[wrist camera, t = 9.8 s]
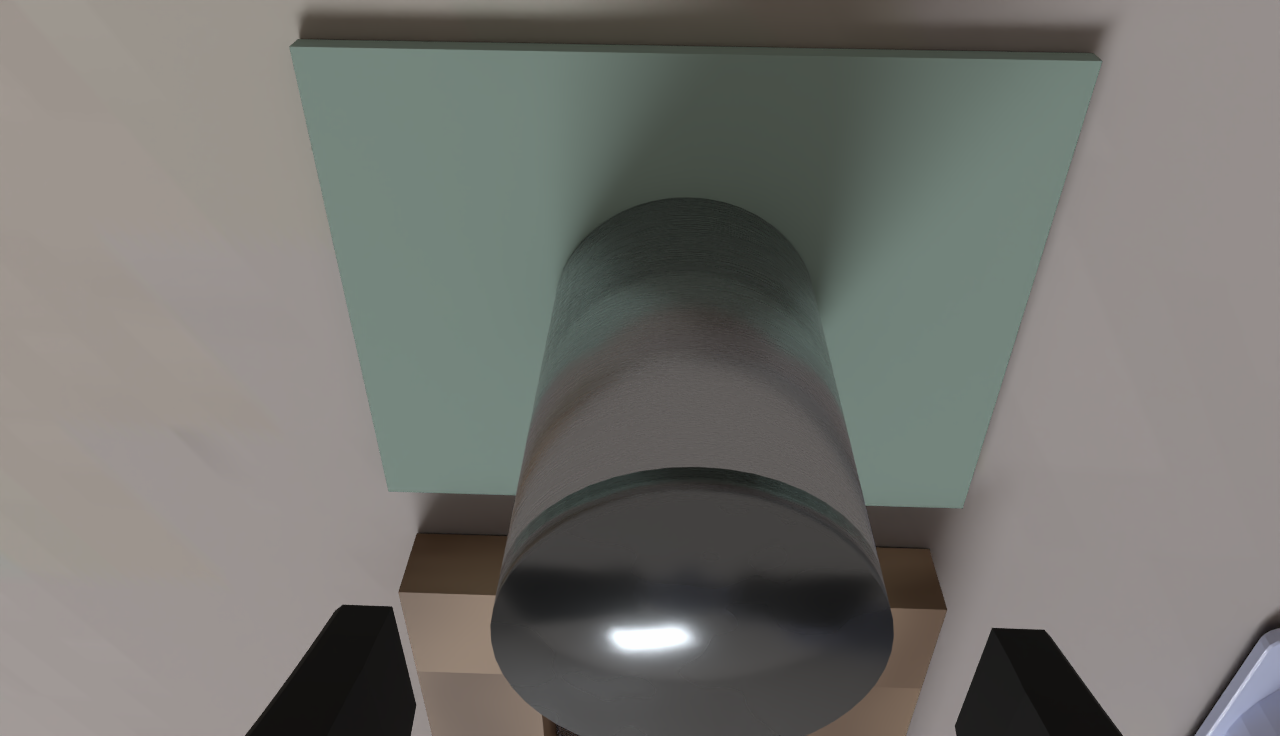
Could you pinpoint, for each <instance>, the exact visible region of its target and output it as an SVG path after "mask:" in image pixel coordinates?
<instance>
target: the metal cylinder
mask: <svg viewBox="0 0 1280 736" xmlns="http://www.w3.org/2000/svg"><path fill="white" fill-rule="evenodd" d="M490 629H491V644H492V648H493V652H494V656H495V659H496V661H497V663H498V665H499V667H500V670H501V672H502V674H503V675H504V677H505V678H506V679H507V681H508V682H509V684H510V685H511V687H512V688H513V689H514V690H515V691H516V692H517V693H518V694H519V696H520V697H521V698H522V699H523V700H524V701H525V702H526V703H528V704H529V705H530V706H531V707H533V708H534V709H535V710H536V711H537V712H539V713H540V714H541V715H543V716H545V717H546V718H548V719H549V720H551V721H552V722H554V723H555V724H557V725H559V726H561V727H563V728H565V729H567V730H569V731H571V732H573V733H575V734H577V735H580V736H806V735H808V734H811V733H813V732H815V731H817V730H819V729H821V728H823V727H825V726H827V725H828V724H830V723H832V722H834V721H835V720H837V719H838V718H840V717H841V716H843V715H844V714H845V713H847V712H848V711H850V710H851V709H852V708H853V707H854V706H855V705H857V704H858V703H859V702H860V701H861V700H862V699H863V698H864V697H865V696H866V695H867V694H868V693H869V691H870V690H871V689H872V688H873V687H874V686H875V684H876V683H877V681H878V680H879V678H880V676H881V675H882V673H883V671H884V670H885V668H886V665H887V663H888V660H889V657H890V655H891V651H892V645H893V639H894V627H893V617H892V613H891V609H890V605H889V600H888V596H887V592H886V588H885V584H884V580H883V576H882V571H881V567H880V563H879V559H878V555H877V551H876V547H875V542H874V538H873V534H872V530H871V526H870V522H869V518H868V513H867V509H866V505H865V501H864V497H863V493H862V489H861V484H860V480H859V476H858V472H857V468H856V464H855V460H854V455H853V451H852V447H851V443H850V439H849V435H848V431H847V426H846V422H845V418H844V414H843V410H842V406H841V402H840V397H839V393H838V389H837V385H836V381H835V377H834V373H833V368H832V364H831V360H830V356H829V352H828V348H827V344H826V340H825V335H824V331H823V327H822V323H821V319H820V315H819V311H818V306H817V302H816V298H815V294H814V290H813V286H812V282H811V278H810V275H809V272H808V270H807V268H806V265H805V263H804V261H803V259H802V258H801V256H800V255H799V253H798V252H797V250H796V248H795V247H794V246H793V245H792V244H791V243H790V241H789V240H788V239H787V238H786V237H785V236H784V235H783V234H782V233H781V232H780V231H779V230H777V229H776V228H775V227H774V226H773V225H771V224H770V223H768V222H767V221H765V220H764V219H762V218H761V217H759V216H758V215H756V214H753V213H751V212H749V211H747V210H745V209H743V208H741V207H738V206H735V205H732V204H729V203H726V202H721V201H716V200H711V199H705V198H692V197H683V198H668V199H662V200H655V201H651V202H647V203H644V204H640V205H637V206H634V207H632V208H629V209H627V210H625V211H622V212H620V213H618V214H616V215H614V216H613V217H611V218H609V219H608V220H606V221H604V222H603V223H602V224H600V225H599V226H598V227H596V228H595V229H594V230H593V231H591V232H590V233H589V234H588V235H587V236H586V237H585V238H584V239H583V240H582V241H581V242H580V244H579V245H578V246H577V247H576V249H575V250H574V252H573V253H572V254H571V256H570V257H569V259H568V261H567V263H566V265H565V267H564V269H563V271H562V274H561V276H560V279H559V282H558V286H557V291H556V296H555V301H554V306H553V311H552V316H551V321H550V326H549V331H548V336H547V341H546V346H545V351H544V356H543V361H542V366H541V371H540V376H539V381H538V386H537V391H536V396H535V401H534V406H533V411H532V416H531V421H530V426H529V431H528V436H527V441H526V446H525V451H524V456H523V461H522V466H521V471H520V476H519V481H518V486H517V491H516V496H515V501H514V506H513V511H512V516H511V522H510V527H509V532H508V537H507V542H506V547H505V552H504V557H503V562H502V567H501V572H500V577H499V582H498V587H497V592H496V597H495V602H494V607H493V612H492V618H491V624H490Z"/></svg>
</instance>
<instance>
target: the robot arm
mask: <svg viewBox="0 0 1280 736" xmlns="http://www.w3.org/2000/svg"><path fill="white" fill-rule="evenodd" d="M415 709H416V702H415V698H414V694H413V690H412V686H411V681H410V677H409V673H408V669H407V665H406V661H405V657H404V653H403V649H402V645H401V640H400V636H399V632H398V628H397V624H396V620H395V616H394V612H393V608H392V607H390V606H362V605H342V606H341V607H339V608H338V609H337V610H335V612H334V613H333V615H332V616H331V618H330V619H329V621H328V622H327V623H326V625H325V626H324V628H323V629H322V631H321V632H320V634H319V635H318V637H317V638H316V639H315V641H314V642H313V644H312V645H311V647H310V648H309V650H308V651H307V652H306V654H305V655H304V657H303V658H302V659H301V661H300V662H299V664H298V665H297V667H296V668H295V669H294V671H293V672H292V673H291V675H290V676H289V678H288V679H287V680H286V682H285V683H284V685H283V686H282V687H281V689H280V690H279V691H278V693H277V694H276V695H275V697H274V698H273V699H272V701H271V702H270V704H269V705H268V706H267V708H266V709H265V710H264V712H263V713H262V714H261V716H260V717H259V718H258V720H257V721H256V722H255V723H254V725H253V726H252V727H251V729H250V730H249V731H248V732H247V734H246V735H245V736H411V731H412V726H413V720H414V715H415ZM955 729H956V735H957V736H1123V735H1122V734H1121V732H1120V731H1119V730H1118V728H1117V727H1116V726H1115V724H1114V723H1113V722H1112V720H1111V719H1110V718H1109V716H1108V715H1107V714H1106V712H1105V711H1104V710H1103V708H1102V707H1101V706H1100V704H1099V703H1098V702H1097V700H1096V699H1095V697H1094V696H1093V695H1092V693H1091V692H1090V691H1089V689H1088V688H1087V686H1086V685H1085V684H1084V682H1083V681H1082V680H1081V678H1080V677H1079V675H1078V674H1077V673H1076V671H1075V670H1074V669H1073V667H1072V666H1071V664H1070V663H1069V662H1068V660H1067V659H1066V657H1065V656H1064V655H1063V653H1062V652H1061V650H1060V649H1059V648H1058V646H1057V645H1056V644H1055V642H1054V641H1053V639H1052V638H1051V637H1050V636H1049V635H1048V633H1047V632H1046V631H1045V630H1033V629H1005V628H992V630H991V632H990V635H989V638H988V640H987V643H986V646H985V648H984V651H983V654H982V656H981V659H980V661H979V664H978V667H977V669H976V672H975V675H974V677H973V680H972V682H971V685H970V688H969V690H968V693H967V696H966V698H965V701H964V703H963V706H962V709H961V711H960V714H959V717H958V719H957V722H956V724H955ZM1195 736H1280V628H1277V629H1274V630H1271V631H1269V632H1267V633H1265V634H1264V635H1263V636H1262V637H1261V638H1260V639H1259V641H1258V642H1257V644H1256V645H1255V647H1254V648H1253V650H1252V651H1251V653H1250V654H1249V656H1248V657H1247V659H1246V660H1245V662H1244V663H1243V665H1242V666H1241V668H1240V669H1239V670H1238V672H1237V673H1236V675H1235V676H1234V678H1233V679H1232V681H1231V682H1230V684H1229V685H1228V687H1227V688H1226V690H1225V691H1224V693H1223V694H1222V696H1221V697H1220V699H1219V700H1218V702H1217V703H1216V705H1215V706H1214V708H1213V709H1212V711H1211V712H1210V713H1209V715H1208V716H1207V718H1206V719H1205V721H1204V722H1203V724H1202V725H1201V727H1200V728H1199V730H1198V731H1197V733H1196V734H1195Z"/></svg>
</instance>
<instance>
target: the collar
mask: <svg viewBox="0 0 1280 736" xmlns="http://www.w3.org/2000/svg"><path fill="white" fill-rule="evenodd" d="M507 537H508V536H486V535H453V534H420V533H417V535H416V538H415V541H414V544H413V547H412V551H411V554H410V557H409V560H408V563H407V566H406V570H405V573H404V576H403V579H402V582H401V586H400V589H399V592H398V593H399V597H400V601H401V605H402V610H403V614H404V618H405V622H406V627H407V631H408V635H409V639H410V644H411V648H412V652H413V656H414V660H415V665H416V669H417V673H418V677H419V682H420V686H421V690H422V694H423V699H424V703H425V707H426V711H427V716H428V720H429V724H430V728H431V733H432V736H557V732H556V724H555V723H554V722H552V721H551V720H549V719H548V718H546V717H545V716H543V715H541V714H540V713H539V712H537V711H536V710H535V709H534V708H533V707H531V706H530V705H529V704H528V703H526V702H525V701H524V700H523V699H522V698H521V697H520V696H519V694H518V693H517V692H516V691H515V690H514V689H513V688H512V687H511V685H510V684H509V682H508V681H507V679H506V678H505V677H504V675H503V674H502V672H501V670H500V667H499V665H498V663H497V661H496V659H495V656H494V652H493V648H492V644H491V629H490V624H491V618H492V612H493V607H494V602H495V597H496V592H497V587H498V582H499V577H500V572H501V567H502V562H503V557H504V552H505V547H506V542H507ZM876 551H877V555H878V559H879V563H880V567H881V571H882V576H883V580H884V584H885V588H886V592H887V596H888V600H889V605H890V609H891V613H892V617H893V627H894V639H893V645H892V651H891V655H890V657H889V660H888V663H887V665H886V668H885V670H884V671H883V673H882V675H881V676H880V678H879V680H878V681H877V683H876V684H875V686H874V687H873V688H872V689H871V690H870V691H869V693H868V694H867V695H866V696H865V697H864V698H863V699H862V700H861V701H860V702H859V703H858V704H857V705H855V706H854V707H853V708H852V709H851V710H850V711H848V712H847V713H845V714H844V715H843V716H841V717H840V718H838V719H837V720H835V721H834V722H832V723H830V724H828V725H827V726H825V727H823V728H821V729H819V730H817V731H815V732H813V733H811V734H808V735H806V736H906V733H907V730H908V727H909V724H910V721H911V718H912V715H913V712H914V709H915V706H916V703H917V700H918V697H919V694H920V691H921V688H922V685H923V682H924V679H925V676H926V673H927V670H928V667H929V664H930V661H931V658H932V654H933V651H934V648H935V645H936V642H937V639H938V636H939V633H940V630H941V627H942V624H943V621H944V618H945V615H946V612H947V608H946V604H945V601H944V597H943V594H942V591H941V587H940V584H939V580H938V577H937V574H936V570H935V567H934V563H933V560H932V557H931V553H930V550H929V549H911V548H878V547H876Z"/></svg>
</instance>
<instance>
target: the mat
mask: <svg viewBox="0 0 1280 736" xmlns="http://www.w3.org/2000/svg"><path fill="white" fill-rule="evenodd" d="M290 52H291V56H292V61H293V65H294V70H295V74H296V79H297V83H298V88H299V92H300V97H301V101H302V106H303V110H304V115H305V119H306V124H307V128H308V133H309V137H310V141H311V146H312V150H313V155H314V159H315V164H316V168H317V173H318V177H319V182H320V186H321V191H322V195H323V200H324V204H325V209H326V213H327V218H328V222H329V227H330V231H331V236H332V240H333V245H334V249H335V254H336V258H337V263H338V267H339V272H340V276H341V281H342V285H343V289H344V294H345V298H346V303H347V307H348V312H349V316H350V321H351V325H352V330H353V334H354V339H355V343H356V348H357V352H358V357H359V361H360V366H361V370H362V375H363V379H364V384H365V388H366V393H367V397H368V402H369V406H370V411H371V415H372V420H373V424H374V429H375V433H376V437H377V442H378V446H379V451H380V455H381V460H382V464H383V469H384V473H385V478H386V482H387V487H388V491H389V492H422V493H456V494H490V495H516V491H517V486H518V481H519V476H520V471H521V466H522V461H523V456H524V451H525V446H526V441H527V436H528V431H529V426H530V421H531V416H532V411H533V406H534V401H535V396H536V391H537V386H538V381H539V376H540V371H541V366H542V361H543V356H544V351H545V346H546V341H547V336H548V331H549V326H550V321H551V316H552V311H553V306H554V301H555V296H556V291H557V286H558V282H559V279H560V276H561V274H562V271H563V269H564V267H565V265H566V263H567V261H568V259H569V257H570V256H571V254H572V253H573V252H574V250H575V249H576V247H577V246H578V245H579V244H580V242H581V241H582V240H583V239H584V238H585V237H586V236H587V235H588V234H589V233H590V232H591V231H593V230H594V229H595V228H596V227H598V226H599V225H600V224H602V223H603V222H604V221H606V220H608V219H609V218H611V217H613V216H614V215H616V214H618V213H620V212H622V211H625V210H627V209H629V208H632V207H634V206H637V205H640V204H644V203H647V202H651V201H655V200H662V199H668V198H683V197H692V198H705V199H711V200H716V201H721V202H726V203H729V204H732V205H735V206H738V207H741V208H743V209H745V210H747V211H749V212H751V213H753V214H756V215H758V216H759V217H761V218H762V219H764V220H765V221H767V222H768V223H770V224H771V225H773V226H774V227H775V228H776V229H777V230H779V231H780V232H781V233H782V234H783V235H784V236H785V237H786V238H787V239H788V240H789V241H790V243H791V244H792V245H793V246H794V247H795V248H796V250H797V252H798V253H799V255H800V256H801V258H802V259H803V261H804V263H805V265H806V268H807V270H808V272H809V275H810V278H811V282H812V286H813V290H814V294H815V298H816V302H817V306H818V311H819V315H820V319H821V323H822V327H823V331H824V335H825V340H826V344H827V348H828V352H829V356H830V360H831V364H832V368H833V373H834V377H835V381H836V385H837V389H838V393H839V397H840V402H841V406H842V410H843V414H844V418H845V422H846V426H847V431H848V435H849V439H850V443H851V447H852V451H853V455H854V460H855V464H856V468H857V472H858V476H859V480H860V484H861V489H862V493H863V497H864V501H865V505H866V506H897V507H931V508H963V506H964V502H965V499H966V496H967V493H968V490H969V486H970V483H971V480H972V477H973V474H974V470H975V467H976V464H977V461H978V458H979V454H980V451H981V448H982V445H983V442H984V438H985V435H986V432H987V429H988V426H989V422H990V419H991V416H992V413H993V410H994V406H995V403H996V400H997V397H998V394H999V390H1000V387H1001V384H1002V381H1003V378H1004V374H1005V371H1006V368H1007V365H1008V362H1009V358H1010V355H1011V352H1012V349H1013V346H1014V342H1015V339H1016V336H1017V333H1018V330H1019V326H1020V323H1021V320H1022V317H1023V314H1024V310H1025V307H1026V304H1027V301H1028V298H1029V294H1030V291H1031V288H1032V285H1033V282H1034V278H1035V275H1036V272H1037V269H1038V266H1039V262H1040V259H1041V256H1042V253H1043V250H1044V246H1045V243H1046V240H1047V237H1048V234H1049V230H1050V227H1051V224H1052V221H1053V218H1054V214H1055V211H1056V208H1057V205H1058V202H1059V198H1060V195H1061V192H1062V189H1063V186H1064V182H1065V179H1066V176H1067V173H1068V170H1069V166H1070V163H1071V160H1072V157H1073V154H1074V150H1075V147H1076V144H1077V141H1078V138H1079V134H1080V131H1081V128H1082V125H1083V122H1084V118H1085V115H1086V112H1087V109H1088V106H1089V102H1090V99H1091V96H1092V93H1093V90H1094V86H1095V83H1096V80H1097V77H1098V74H1099V70H1100V67H1101V64H1102V60H1100V59H1099V58H1098V57H1097V56H1096V55H1095V54H1093V53H1053V52H996V51H940V50H883V49H826V48H769V47H712V46H655V45H598V44H541V43H484V42H428V41H371V40H314V39H297V40H296V41H295V42H294V43H293V44H292V45H291V46H290Z"/></svg>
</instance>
